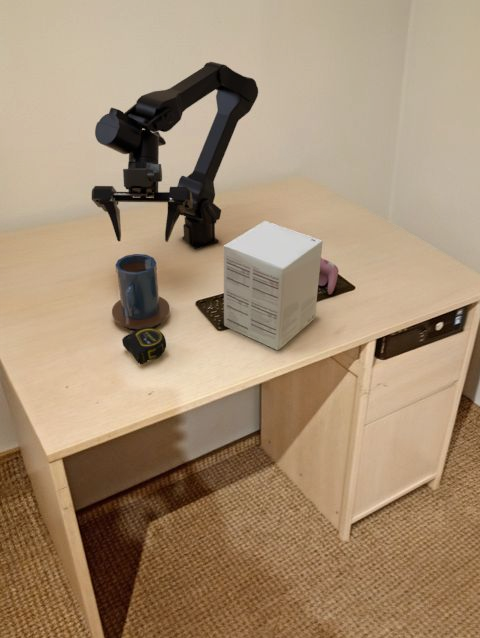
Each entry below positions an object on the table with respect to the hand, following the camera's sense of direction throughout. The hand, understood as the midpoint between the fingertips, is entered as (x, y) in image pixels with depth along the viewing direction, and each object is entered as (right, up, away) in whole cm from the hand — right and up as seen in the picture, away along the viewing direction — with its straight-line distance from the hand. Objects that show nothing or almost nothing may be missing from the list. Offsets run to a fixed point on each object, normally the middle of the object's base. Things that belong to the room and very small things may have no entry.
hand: (142, 241), depth 118 cm
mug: (0, -14, 0) cm, 14 cm away
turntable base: (0, -15, +1) cm, 15 cm away
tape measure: (+2, -22, -8) cm, 24 cm away
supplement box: (+25, -16, +1) cm, 29 cm away
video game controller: (+34, -7, +13) cm, 37 cm away
